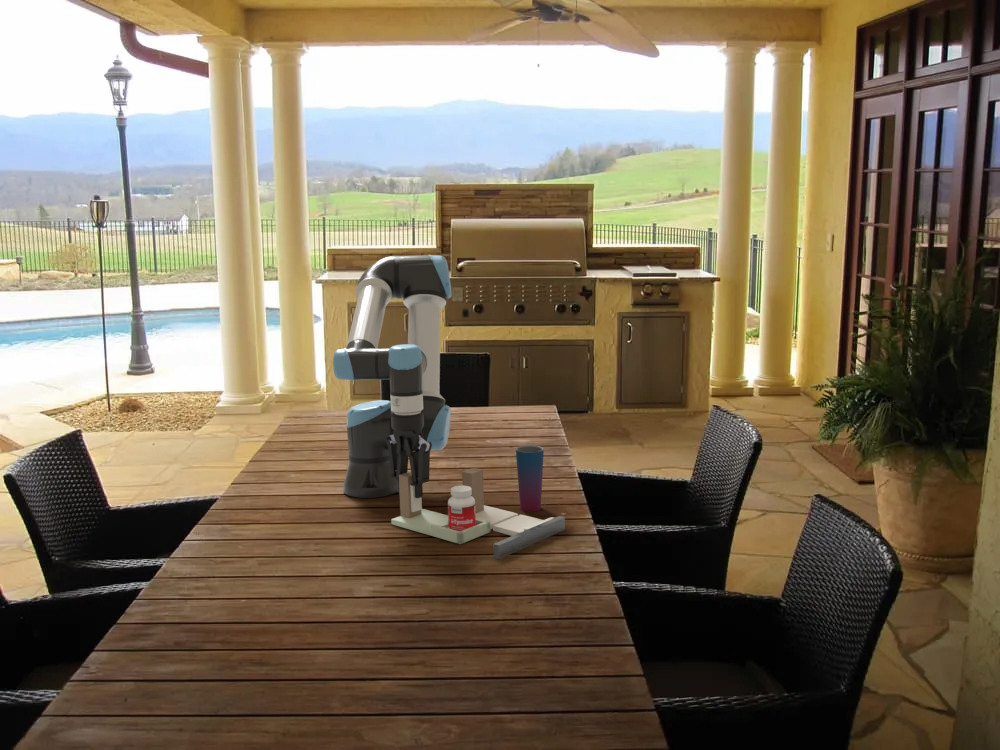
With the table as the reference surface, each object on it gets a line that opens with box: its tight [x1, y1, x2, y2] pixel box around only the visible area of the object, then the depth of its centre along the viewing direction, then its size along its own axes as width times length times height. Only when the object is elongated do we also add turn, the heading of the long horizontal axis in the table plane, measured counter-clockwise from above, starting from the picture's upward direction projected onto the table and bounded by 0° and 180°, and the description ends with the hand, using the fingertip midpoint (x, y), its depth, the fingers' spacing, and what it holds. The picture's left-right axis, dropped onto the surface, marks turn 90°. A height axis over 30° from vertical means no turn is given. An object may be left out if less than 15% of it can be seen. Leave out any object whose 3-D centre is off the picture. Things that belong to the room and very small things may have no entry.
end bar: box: [492, 515, 566, 560], centre depth 207 cm, size 2×23×3 cm, turn 140°
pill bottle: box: [447, 485, 476, 531], centre depth 212 cm, size 6×6×11 cm
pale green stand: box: [390, 470, 491, 545], centre depth 217 cm, size 22×10×11 cm, turn 49°
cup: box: [515, 444, 545, 512], centre depth 230 cm, size 7×7×15 cm
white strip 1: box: [461, 467, 519, 531], centre depth 222 cm, size 11×10×11 cm
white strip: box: [492, 514, 555, 537], centre depth 215 cm, size 10×10×2 cm
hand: (410, 508), depth 223 cm, fingers closed on pale green stand, 3 cm apart
